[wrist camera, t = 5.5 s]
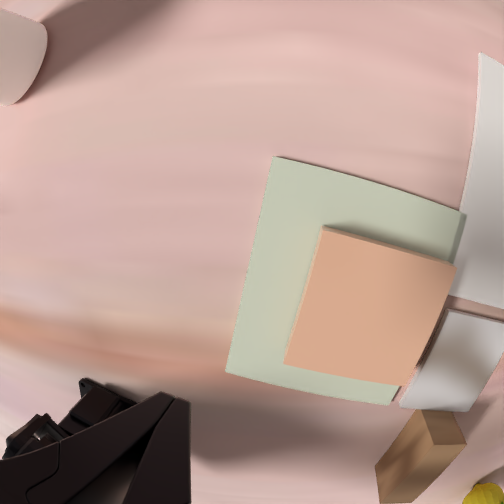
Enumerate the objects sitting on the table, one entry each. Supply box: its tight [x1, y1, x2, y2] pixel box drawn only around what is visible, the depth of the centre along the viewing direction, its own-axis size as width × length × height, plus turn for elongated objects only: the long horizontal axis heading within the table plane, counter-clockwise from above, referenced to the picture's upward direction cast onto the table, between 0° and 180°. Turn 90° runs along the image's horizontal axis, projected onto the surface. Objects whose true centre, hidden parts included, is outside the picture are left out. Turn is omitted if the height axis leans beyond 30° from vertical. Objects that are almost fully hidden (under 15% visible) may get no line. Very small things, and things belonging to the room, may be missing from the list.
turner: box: [375, 308, 504, 504], centre depth 16 cm, size 16×7×4 cm, turn 168°
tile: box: [283, 225, 457, 387], centre depth 16 cm, size 8×2×8 cm
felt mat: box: [225, 156, 467, 405], centre depth 17 cm, size 14×12×1 cm
